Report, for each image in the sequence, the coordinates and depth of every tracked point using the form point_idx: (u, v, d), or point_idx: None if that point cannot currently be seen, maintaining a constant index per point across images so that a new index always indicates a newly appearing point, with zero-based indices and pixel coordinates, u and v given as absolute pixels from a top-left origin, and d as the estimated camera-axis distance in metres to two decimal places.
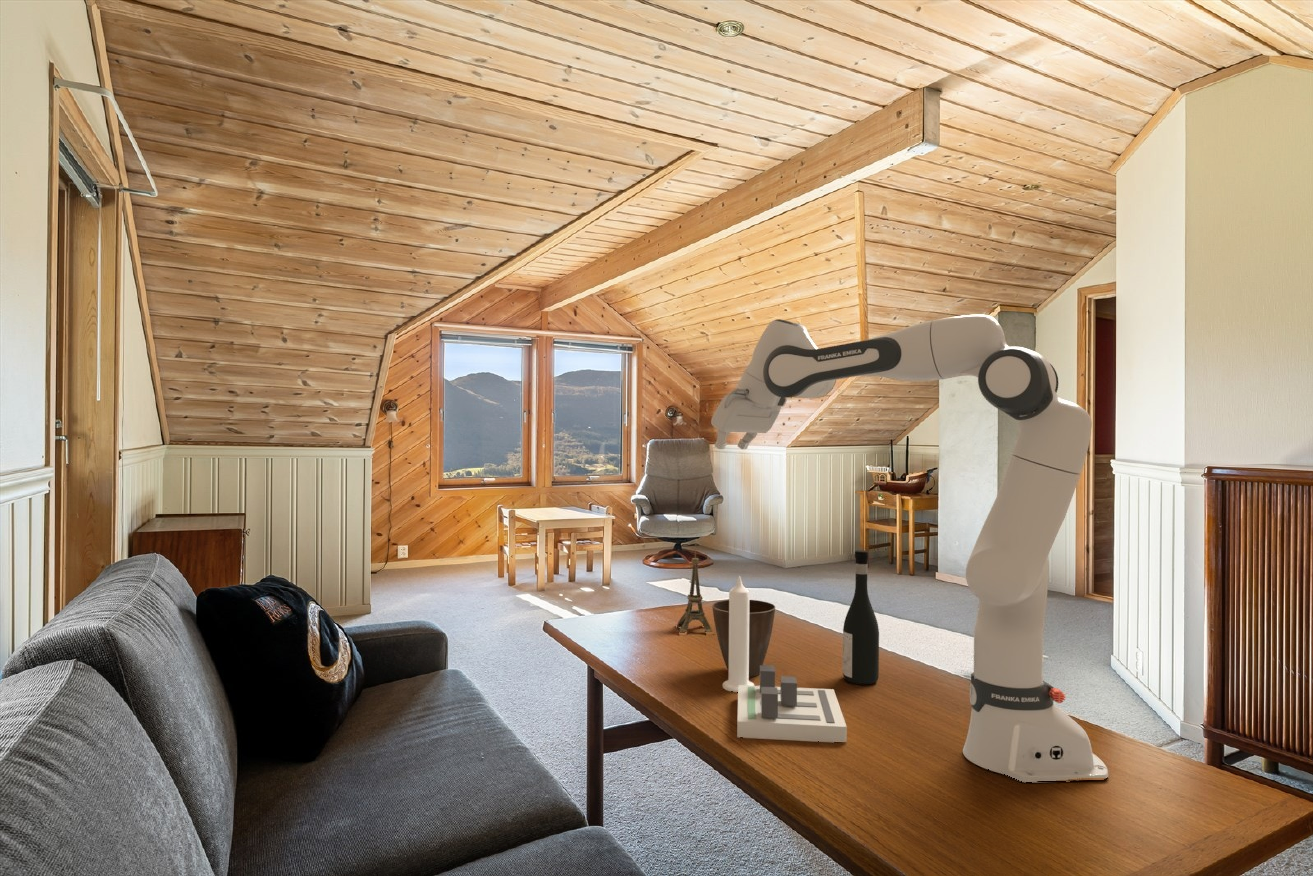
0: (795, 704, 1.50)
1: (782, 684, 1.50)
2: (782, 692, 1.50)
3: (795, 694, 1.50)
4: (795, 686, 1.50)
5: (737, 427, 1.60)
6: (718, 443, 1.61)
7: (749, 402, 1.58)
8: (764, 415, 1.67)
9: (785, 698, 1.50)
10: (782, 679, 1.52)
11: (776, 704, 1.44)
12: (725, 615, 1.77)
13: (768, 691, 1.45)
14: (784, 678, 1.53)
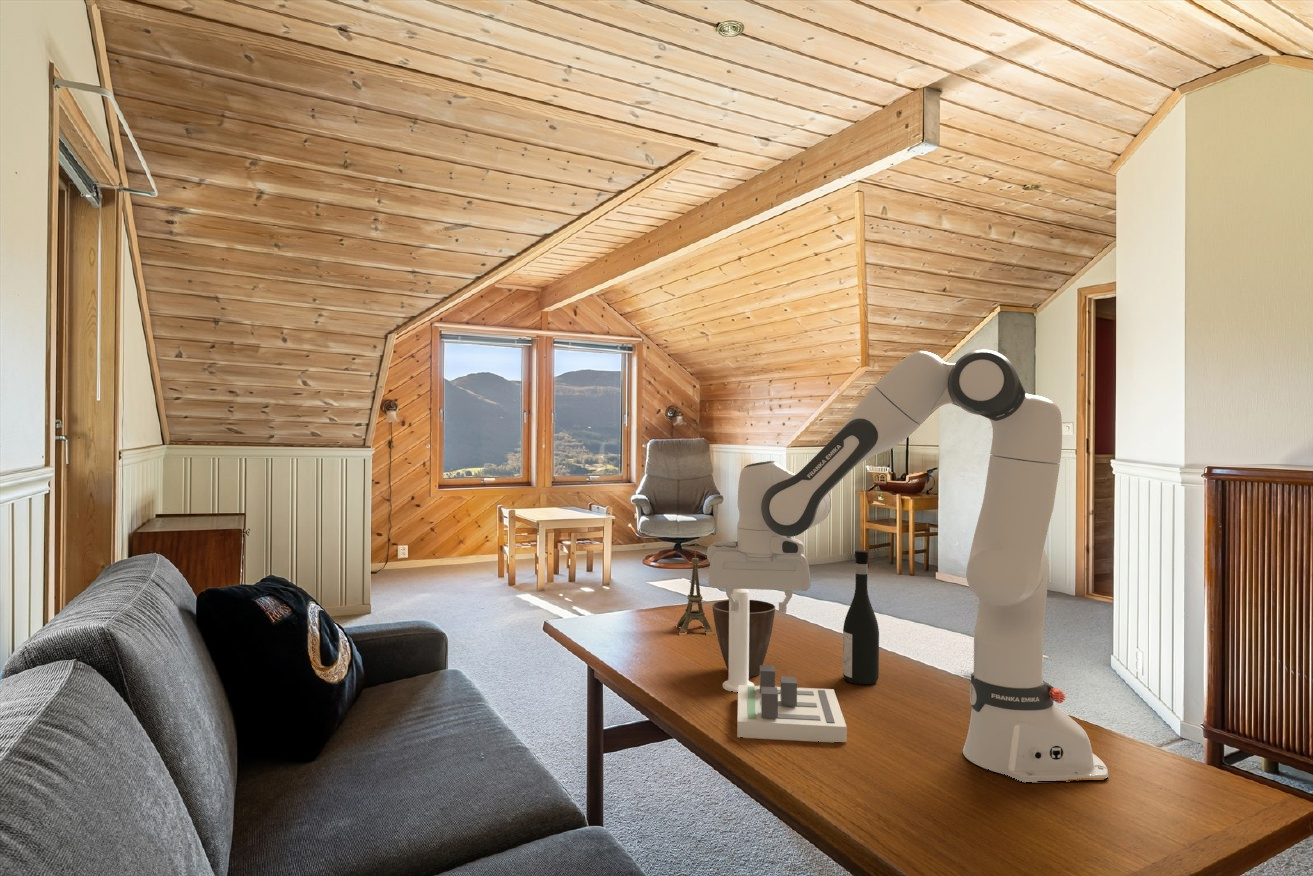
0: (795, 704, 1.50)
1: (782, 684, 1.50)
2: (782, 692, 1.50)
3: (795, 694, 1.50)
4: (795, 686, 1.50)
5: (735, 582, 1.52)
6: None
7: (737, 553, 1.52)
8: (783, 568, 1.51)
9: (785, 698, 1.50)
10: (782, 679, 1.52)
11: (776, 704, 1.44)
12: (725, 615, 1.77)
13: (768, 691, 1.45)
14: (784, 678, 1.53)
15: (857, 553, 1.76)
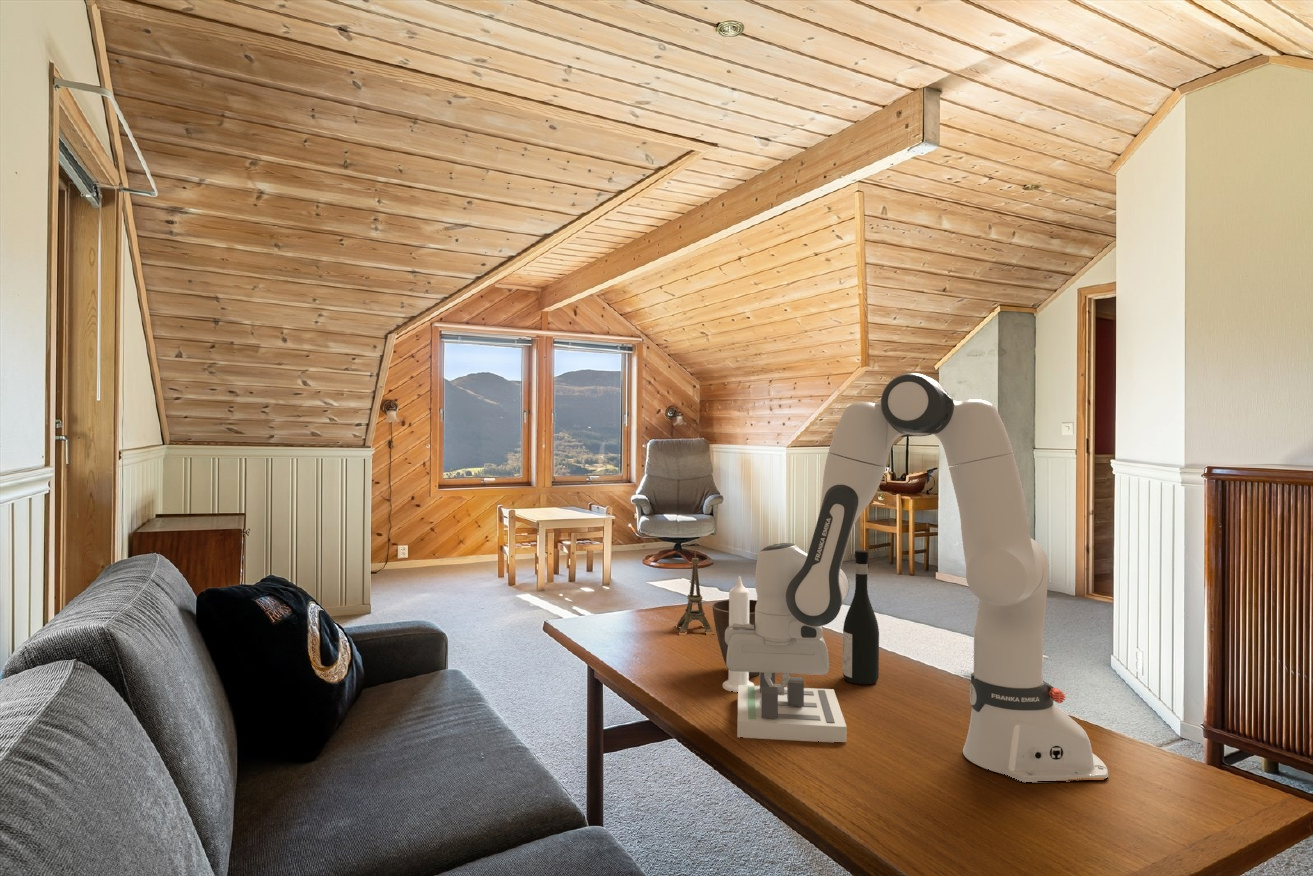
0: (802, 704, 1.50)
1: (789, 684, 1.50)
2: (789, 692, 1.50)
3: (802, 694, 1.50)
4: (802, 686, 1.50)
5: (753, 666, 1.51)
6: None
7: (755, 636, 1.51)
8: (802, 652, 1.50)
9: (792, 698, 1.50)
10: None
11: (776, 704, 1.44)
12: (725, 615, 1.77)
13: (768, 691, 1.45)
14: (791, 678, 1.53)
15: (857, 553, 1.76)
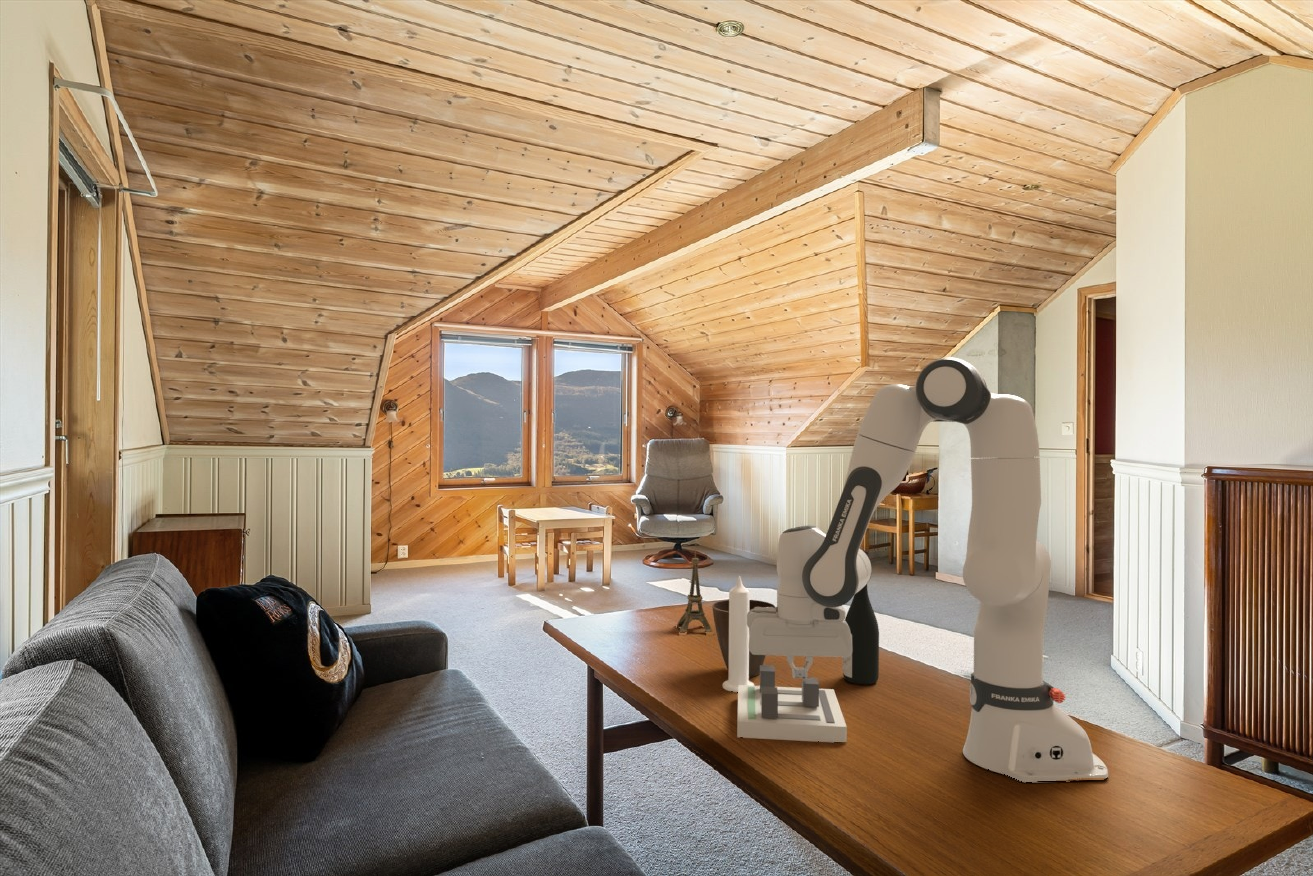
0: (817, 705, 1.50)
1: (804, 685, 1.50)
2: (804, 693, 1.50)
3: (817, 695, 1.50)
4: (817, 687, 1.50)
5: (776, 649, 1.50)
6: (792, 672, 1.52)
7: (777, 619, 1.51)
8: (825, 634, 1.50)
9: (807, 699, 1.50)
10: (804, 680, 1.52)
11: (776, 704, 1.44)
12: (725, 615, 1.77)
13: (768, 691, 1.45)
14: (806, 678, 1.53)
15: None
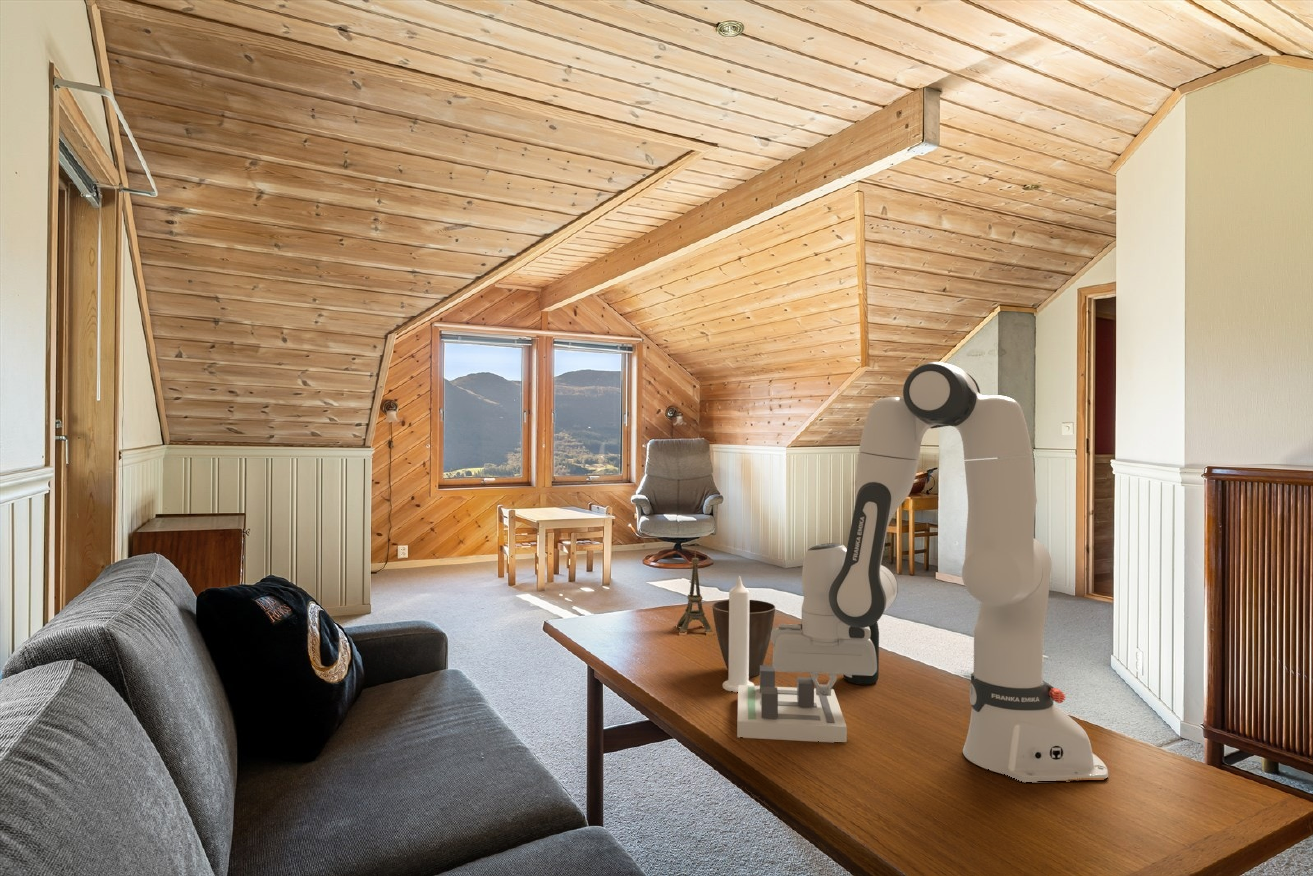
0: (812, 705, 1.50)
1: (799, 685, 1.50)
2: (799, 693, 1.50)
3: (812, 695, 1.50)
4: (812, 687, 1.50)
5: (800, 666, 1.50)
6: (816, 689, 1.52)
7: (802, 637, 1.50)
8: (849, 652, 1.49)
9: (802, 698, 1.50)
10: (799, 680, 1.52)
11: (776, 704, 1.44)
12: (725, 615, 1.77)
13: (768, 691, 1.45)
14: (801, 678, 1.53)
15: None
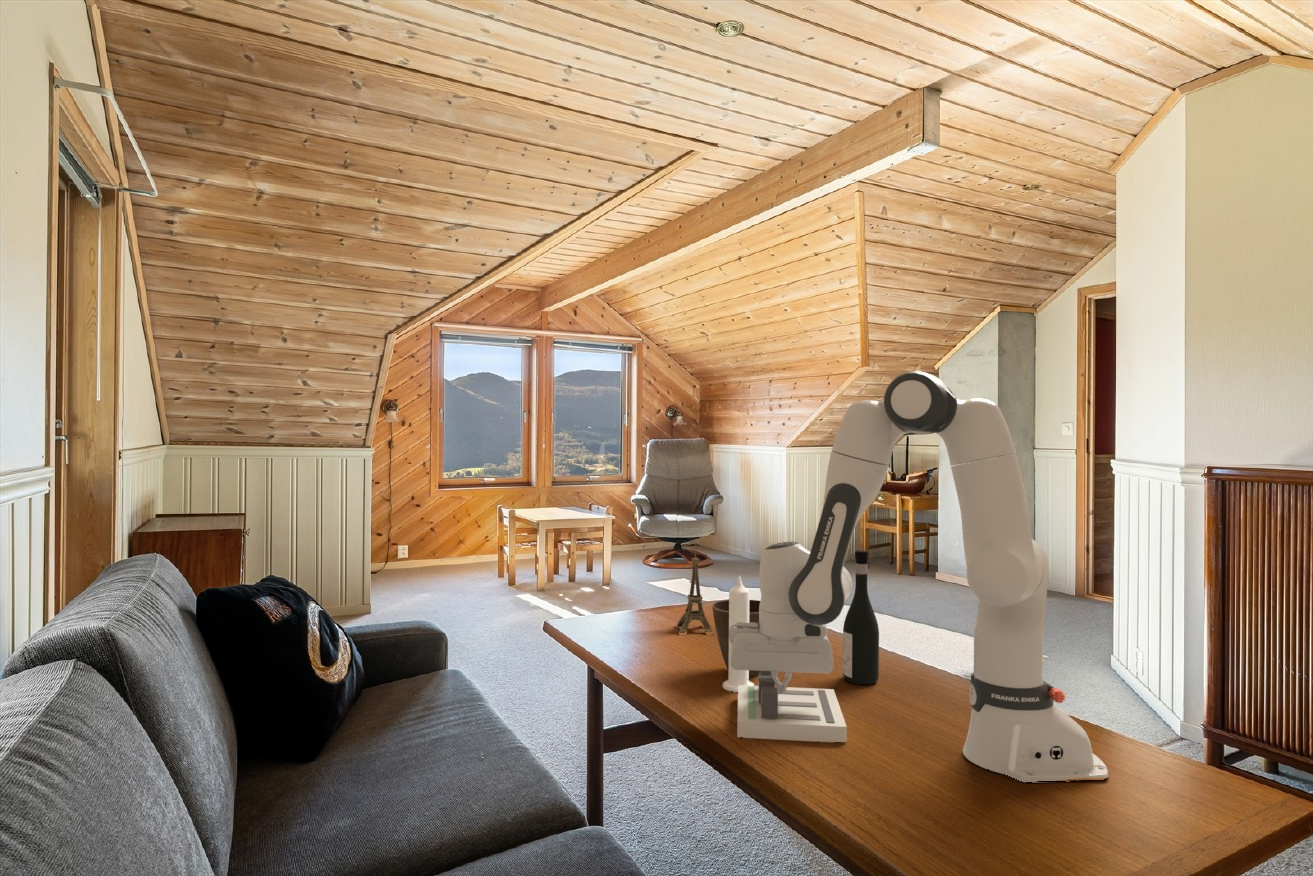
0: None
1: (759, 683, 1.51)
2: (759, 691, 1.51)
3: None
4: (772, 685, 1.51)
5: (758, 665, 1.51)
6: None
7: (759, 635, 1.51)
8: (806, 650, 1.50)
9: None
10: (760, 678, 1.53)
11: (776, 704, 1.44)
12: (725, 615, 1.77)
13: (768, 691, 1.45)
14: (762, 677, 1.54)
15: (857, 553, 1.76)
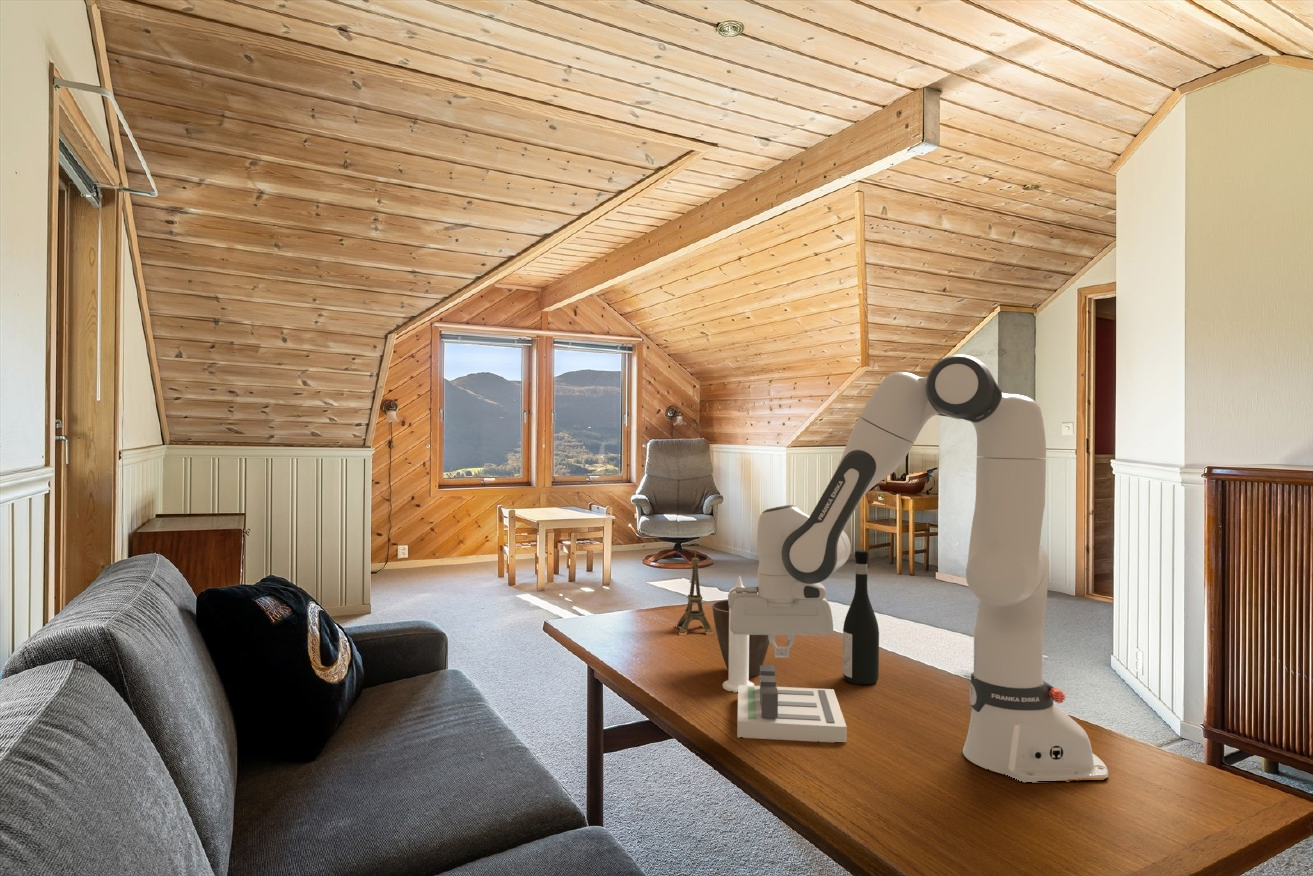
0: None
1: (761, 683, 1.51)
2: None
3: None
4: (774, 685, 1.51)
5: (757, 629, 1.51)
6: None
7: (758, 599, 1.51)
8: (806, 613, 1.50)
9: None
10: (761, 678, 1.53)
11: (776, 704, 1.44)
12: (725, 615, 1.77)
13: (768, 691, 1.45)
14: (764, 677, 1.54)
15: (857, 553, 1.76)
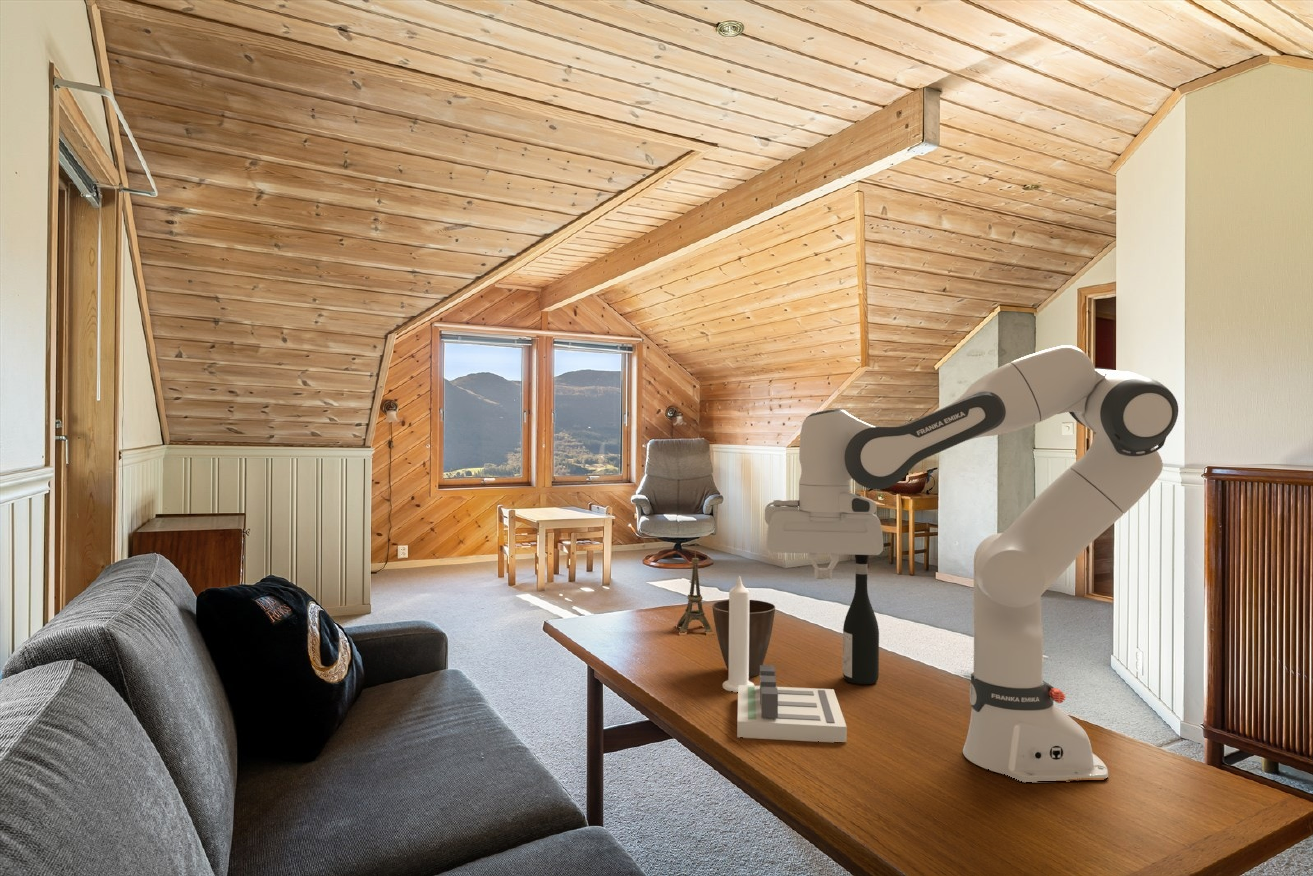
0: None
1: (761, 683, 1.51)
2: None
3: None
4: (774, 685, 1.51)
5: (798, 546, 1.34)
6: None
7: (799, 513, 1.34)
8: (852, 529, 1.34)
9: None
10: (761, 678, 1.53)
11: (776, 704, 1.44)
12: (725, 615, 1.77)
13: (768, 691, 1.45)
14: (764, 677, 1.54)
15: None
